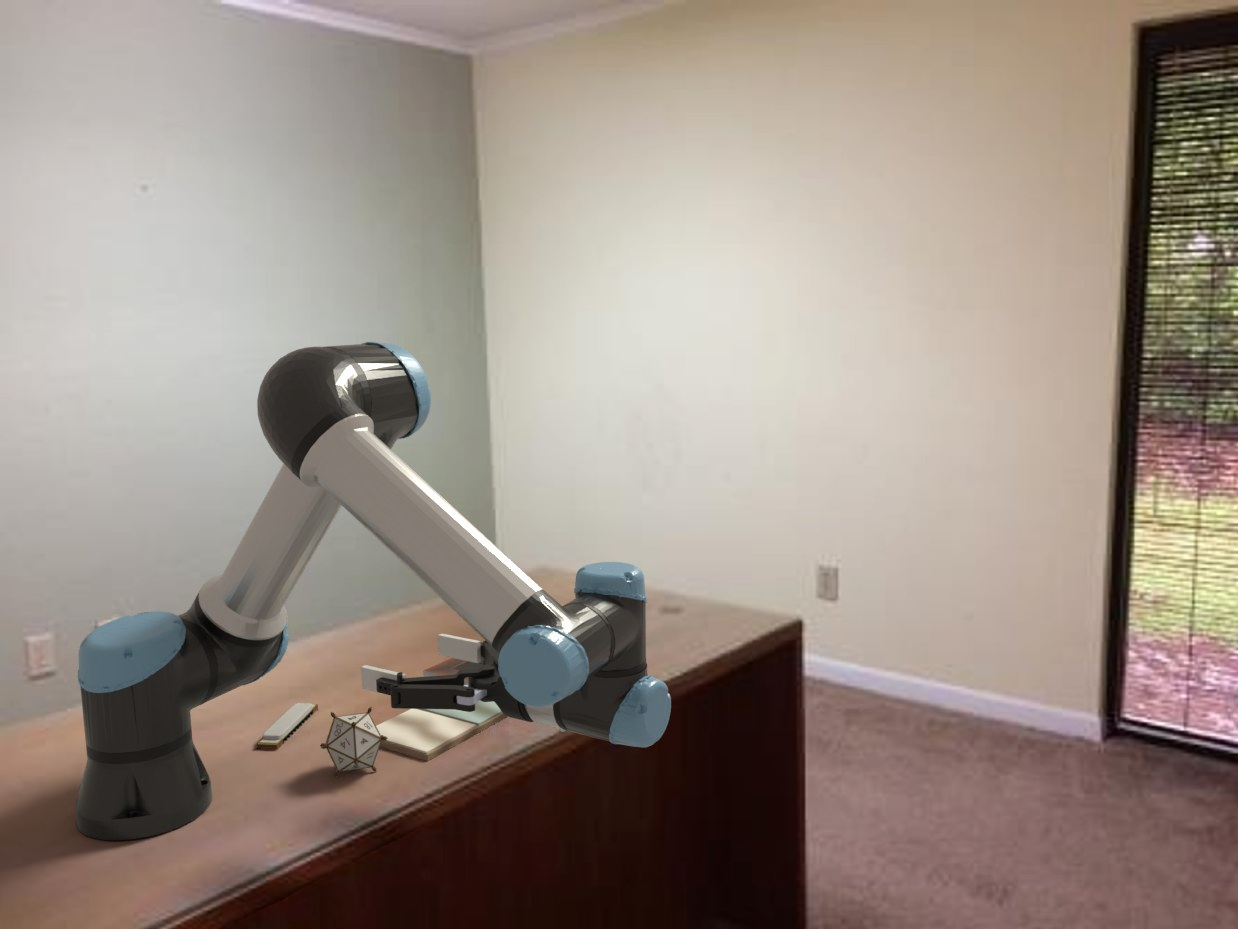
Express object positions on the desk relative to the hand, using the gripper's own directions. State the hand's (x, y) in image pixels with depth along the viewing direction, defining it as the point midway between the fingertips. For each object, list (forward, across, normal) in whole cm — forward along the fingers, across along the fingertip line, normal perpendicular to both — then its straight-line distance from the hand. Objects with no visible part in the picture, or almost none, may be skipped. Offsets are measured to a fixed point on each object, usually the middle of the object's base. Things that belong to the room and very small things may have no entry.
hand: (403, 659), depth 129 cm
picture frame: (+14, +38, -18) cm, 44 cm away
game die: (+10, 0, -17) cm, 20 cm away
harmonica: (+28, +5, -17) cm, 34 cm away
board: (+10, +18, -17) cm, 26 cm away
